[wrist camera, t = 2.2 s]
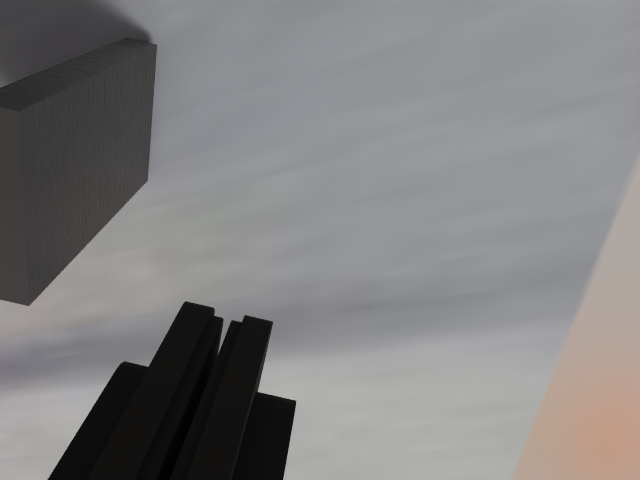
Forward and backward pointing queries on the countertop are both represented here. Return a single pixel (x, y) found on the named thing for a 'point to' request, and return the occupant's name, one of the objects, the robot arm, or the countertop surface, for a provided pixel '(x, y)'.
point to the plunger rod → (70, 159)
